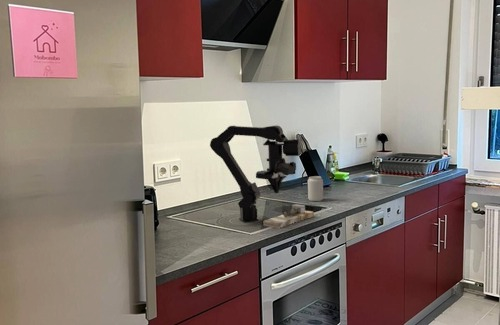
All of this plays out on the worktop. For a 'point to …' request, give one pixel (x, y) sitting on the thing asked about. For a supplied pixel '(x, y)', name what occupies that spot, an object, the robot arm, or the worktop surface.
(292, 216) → the door jamb
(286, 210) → the bolt
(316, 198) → the can
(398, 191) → the worktop surface
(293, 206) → the keeper
